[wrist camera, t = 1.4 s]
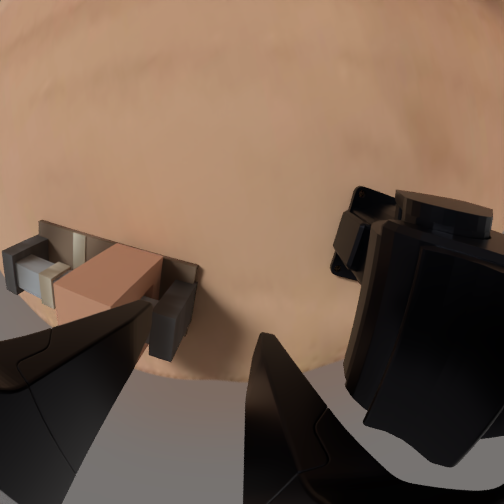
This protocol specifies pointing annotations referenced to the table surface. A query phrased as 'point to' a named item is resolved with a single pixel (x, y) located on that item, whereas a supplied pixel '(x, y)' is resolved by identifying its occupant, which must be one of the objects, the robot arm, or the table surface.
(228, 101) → the table surface
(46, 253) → the rail
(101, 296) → the collar
